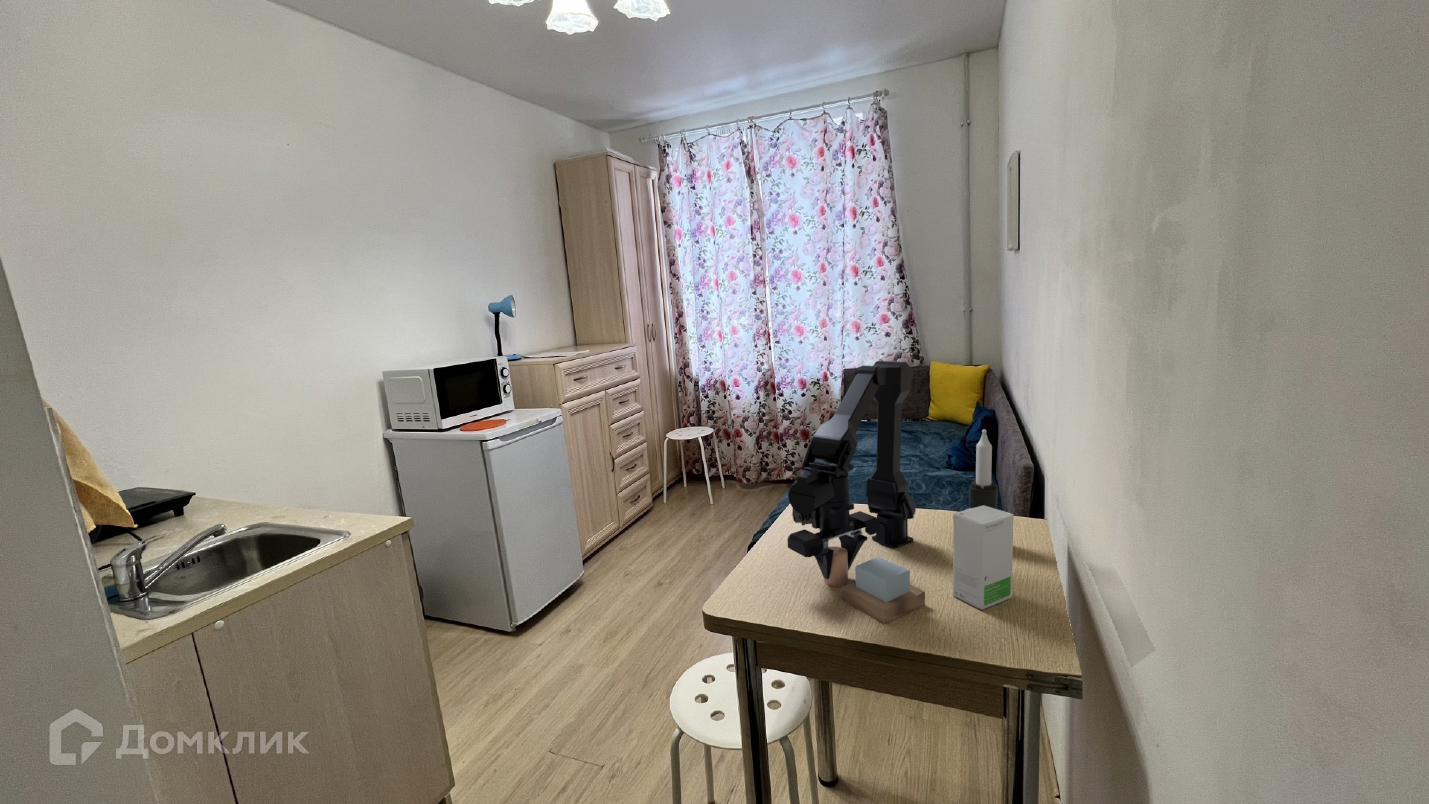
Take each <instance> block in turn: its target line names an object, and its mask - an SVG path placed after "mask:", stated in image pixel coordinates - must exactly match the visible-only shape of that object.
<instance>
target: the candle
mask: <svg viewBox="0 0 1429 804" xmlns="http://www.w3.org/2000/svg"><path fill="white" fill-rule="evenodd" d="M981 432H982V434H981V437H980V439H979V441H977V442H978V443H976V445H975V447H976V448H975V451H976V454H975V457H976V458H975V459H976V461H975V480H973V481H971V483H970V485H969V487H968V509H969V508H975V507H979V506H983V505H984V506H988V507H991V508H994V509H998V493H999V492H998V491H999V490H998V489H999V485H998V484H996V483H995V482H994V481H992V465H993V464H992V460H993V459H992V456H993V453H992V452H993V446H992V444H991V443H990V441H989V438H988V435H987V430H986V429H982V430H981Z"/></svg>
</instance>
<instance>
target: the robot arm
mask: <svg viewBox="0 0 1429 804" xmlns="http://www.w3.org/2000/svg"><path fill="white" fill-rule="evenodd" d="M913 371H914V370H913V369H912V367H910V366H909V364H908V363H907V362H906V361H898V360H897V361H896V360H895V361H893V360H892V361H890V360H877V361H875V362H874V364H873V365H861V366H858V367H857V368H855V374H854V378H853V380H852V382H851V384H850V386H849V388H848V389H847V392H846V393H845V395H844V396H843V398H842V400H841V402H840V404H839V406H838V408H837V409H836V411H835V413H834V415H833V416H832V418H830V419H829V420H827V421H826V422H824V423H822V424H821V425H820V426H819V427H818V429H817V430H816V431H815V432H814V434H813V436H812V437H811V440H810V442H809V445H808V448H807V450H806V454H805V456H804V459H803V463H802V465H801V468H800V469H801V471H803V472H805V473H803V474H802V473H801V474H799V475H797V476H796V483H793V484H792V485H791V486H790V488H789V491H788V493H787V495H788V496H787V498H788V501H789V504H790V506H791V507H792V513H791V515H792V520H793V522H794V523H796V524H801V526H805V525H811V528H814V529H818V530H819V531H818V532H812V531H810V530H807V529H801V530H797V531H796V532H792V533H790V534H789V535H788V536H787V548H788V549H790V550H791V551H793V552H795V553H796V554H799V555H801V556H803V557H804V558H812V557H814V559H815V560H816V563H817V565H818V567H819V569H820V572H821V574H822V577H823V579H824V578H825V579H829V576H830V572H831V565H832V559H833V552H834V550H832V549H830V548H828V547H829V542H830V540H831V541H832V540H834V539H836V538H838V540H839V542H840V547H842V548H845V549H846V550H847V551H848V572H849V570H850V569H851V566H852V564H853V563H854V561H855V559H856V557H857V555H858V553H859V551H860V549H862V546H863V545H864V543H865V542H866V541H868V536H866V535H863V531H862V529H864V531H865V533H866V534H867V535H869V536H871V539H872V540H873V541H875V542H878V543H880V544H882V545H885V546H887V547H890V548H892V549H896V548H898V547H900V546H903V545H906V544H908V543H911V542H913V541H914V538H913V537H911V536H909V535H908V533H909V531H908V527H909V525H908V524H909V523H908V520H913V519H914V518H915V514H916V511H917V510H916V508H917V505H916V503H915V501H914V500H913V498H912V497H911V496H910V494H909V490H908V489H909V487H908V482H907V479H905V476H904V475H903V473H902V470H901V449H902V448H901V445H902V441H901V439H902V411H903V410H902V409H903V403H904V401H905V399H906V398H907V396H908V395H909V394H910V392H911V389H912V388H911V387H912V382H913V379H914V372H913ZM873 399H875V401H876V403H877V420H876V421H877V422H876V423H877V425H876V426H877V427H876V467H875V471H874V472H873V474H872V476H871V477H870V478H867V480H866V483H865V484H866V492H865V499H866V503H867V508H868V511H869V513H870V514H869V513H866V512H863V511H860V510H859V511H855V512H853V513H850V511H852V510H854V509H855V503H853V502H851V501H850V483H849V472H851V471H852V470H854V465H853V464H852V463H851V461H852V459H853V458H854V456H855V451H856V448H857V446H858V439H857V430H858V429H859V426H860V424H861V423H862V420H863V418H864V417H865V415H866V413H867V411H868V410H869V407H870V406H871V403H872V402H873ZM815 461H817V462H815ZM819 462H820V463H819ZM871 514H876V516H874V515H871Z"/></svg>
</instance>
